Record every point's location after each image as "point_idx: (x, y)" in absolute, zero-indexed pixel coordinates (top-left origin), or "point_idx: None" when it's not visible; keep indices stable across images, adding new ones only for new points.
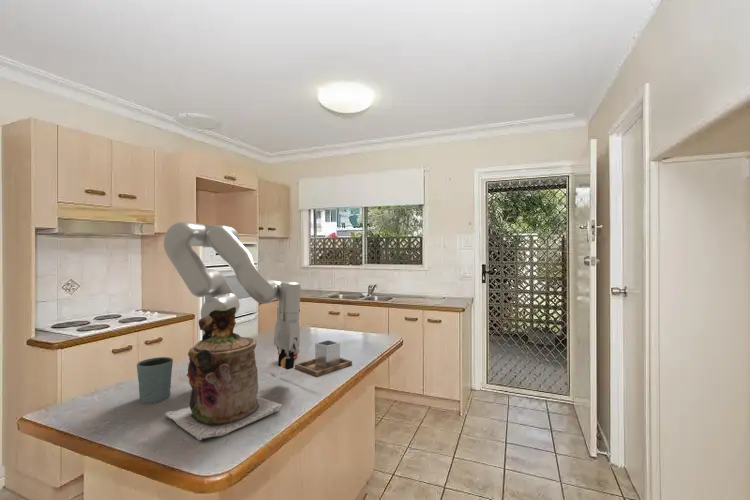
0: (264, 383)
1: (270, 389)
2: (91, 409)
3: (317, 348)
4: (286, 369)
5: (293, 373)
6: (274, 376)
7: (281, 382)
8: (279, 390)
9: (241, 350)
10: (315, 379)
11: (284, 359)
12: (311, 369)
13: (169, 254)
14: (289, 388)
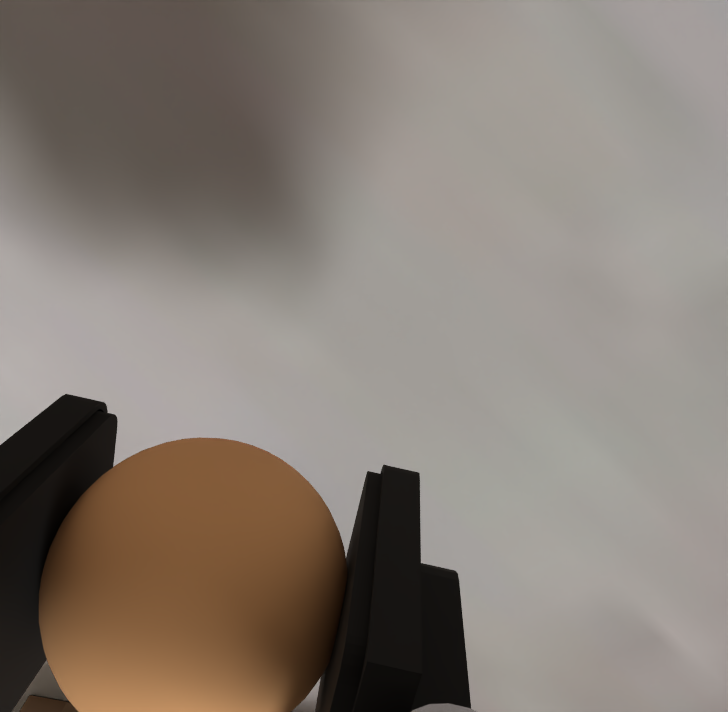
0: (586, 211)
1: (295, 64)
2: None
3: None
4: (69, 400)
5: (474, 707)
6: (651, 505)
7: (367, 379)
8: (133, 112)
9: None
10: (38, 679)
11: (125, 582)
12: None
13: None
14: (69, 259)
